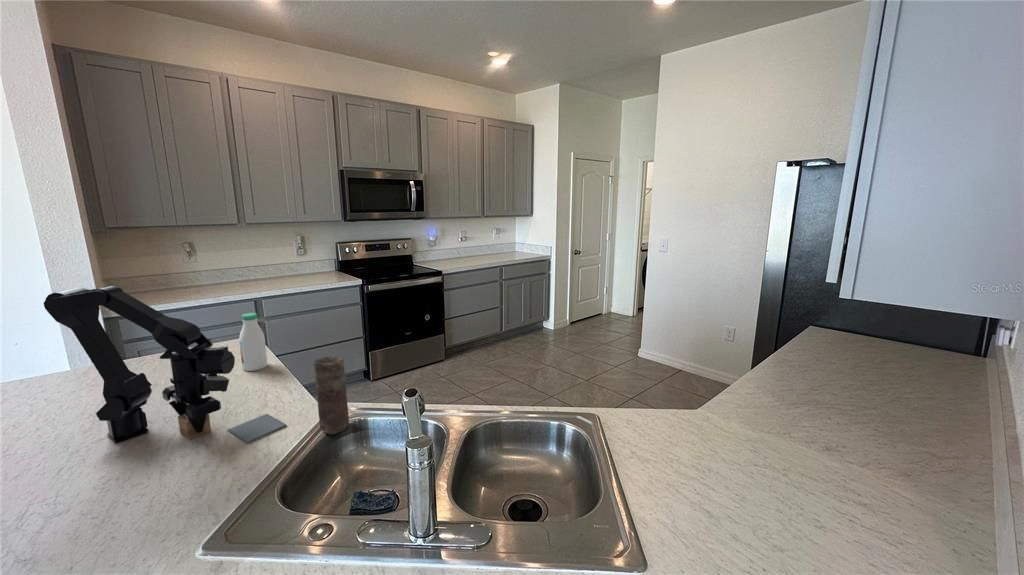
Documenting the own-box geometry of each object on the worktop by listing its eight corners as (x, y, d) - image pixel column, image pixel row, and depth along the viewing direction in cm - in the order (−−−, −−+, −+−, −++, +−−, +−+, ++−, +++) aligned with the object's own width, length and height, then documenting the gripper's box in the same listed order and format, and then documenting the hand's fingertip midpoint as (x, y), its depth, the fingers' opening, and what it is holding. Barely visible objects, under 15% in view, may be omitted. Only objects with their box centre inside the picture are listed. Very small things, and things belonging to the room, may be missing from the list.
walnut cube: (188, 440, 104) (186, 422, 103) (180, 433, 107) (177, 416, 105) (211, 431, 108) (208, 414, 107) (202, 425, 111) (200, 408, 110)
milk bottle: (272, 363, 152) (267, 311, 147) (257, 372, 144) (251, 317, 140) (252, 362, 152) (247, 310, 148) (237, 370, 145) (230, 316, 141)
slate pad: (247, 443, 103) (247, 441, 103) (228, 431, 108) (227, 429, 108) (286, 426, 111) (286, 424, 111) (267, 415, 117) (266, 413, 117)
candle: (313, 429, 110) (307, 360, 106) (336, 417, 116) (331, 351, 112) (332, 438, 107) (327, 366, 102) (355, 425, 113) (351, 356, 109)
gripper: (240, 371, 106) (246, 426, 109) (207, 355, 115) (213, 406, 119) (188, 387, 96) (197, 446, 100) (157, 368, 106) (166, 423, 109)
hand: (195, 428), depth 107 cm, fingers closed on walnut cube, 5 cm apart
